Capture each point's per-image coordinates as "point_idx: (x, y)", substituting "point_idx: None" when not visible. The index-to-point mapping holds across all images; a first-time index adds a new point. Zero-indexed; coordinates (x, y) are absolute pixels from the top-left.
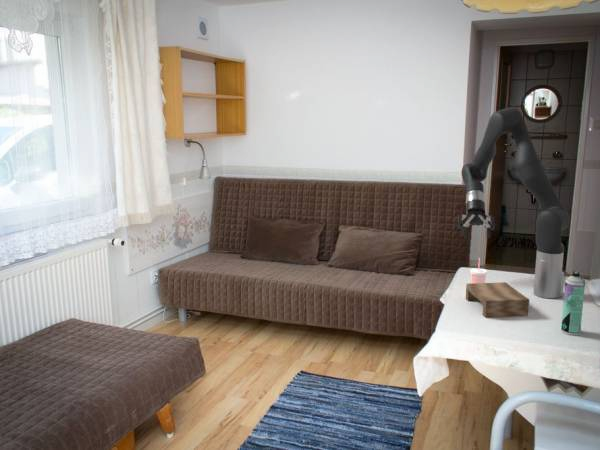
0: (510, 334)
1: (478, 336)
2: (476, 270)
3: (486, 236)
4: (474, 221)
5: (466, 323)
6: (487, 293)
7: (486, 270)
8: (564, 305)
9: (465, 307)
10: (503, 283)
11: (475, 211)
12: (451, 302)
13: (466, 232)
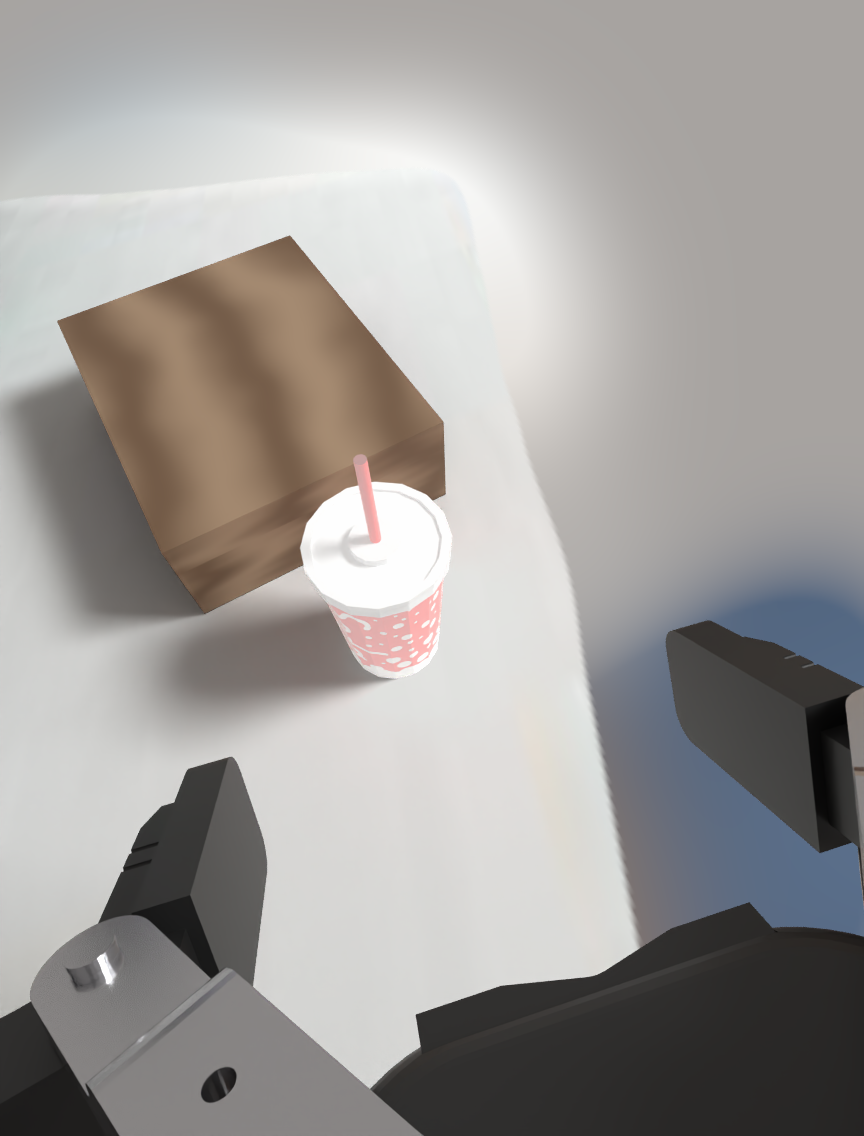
0: (205, 225)
1: (320, 180)
2: (393, 522)
3: (257, 866)
4: (703, 973)
5: (379, 245)
6: (289, 319)
7: (306, 569)
8: None
9: (418, 383)
10: (181, 522)
11: None
12: (507, 416)
13: (701, 641)
